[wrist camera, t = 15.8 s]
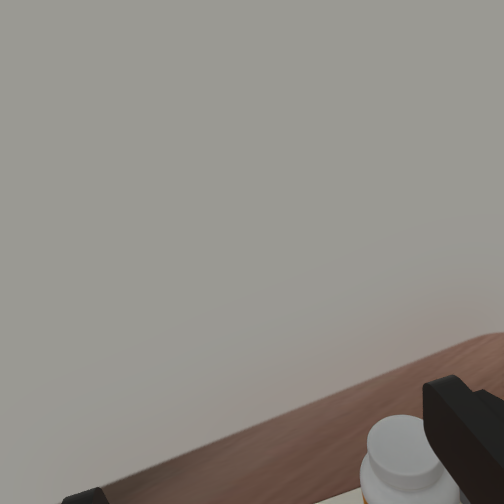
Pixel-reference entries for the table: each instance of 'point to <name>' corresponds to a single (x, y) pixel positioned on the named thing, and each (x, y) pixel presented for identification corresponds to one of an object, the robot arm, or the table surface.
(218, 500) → the table surface
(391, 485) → the supplement bottle
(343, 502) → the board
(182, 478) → the table surface
